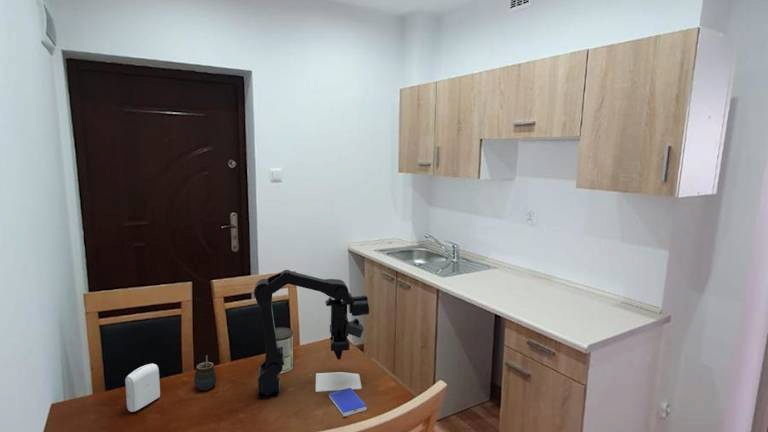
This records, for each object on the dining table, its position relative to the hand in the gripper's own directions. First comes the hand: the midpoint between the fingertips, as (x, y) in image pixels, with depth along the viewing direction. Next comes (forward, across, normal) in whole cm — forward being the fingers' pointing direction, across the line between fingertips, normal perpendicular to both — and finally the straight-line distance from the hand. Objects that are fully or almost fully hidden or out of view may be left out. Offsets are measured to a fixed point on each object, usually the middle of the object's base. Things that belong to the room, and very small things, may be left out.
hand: (339, 359), depth 148 cm
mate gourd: (+10, +5, +46) cm, 48 cm away
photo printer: (+10, -4, +63) cm, 64 cm away
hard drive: (+9, -6, 0) cm, 11 cm away
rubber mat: (+10, +3, 0) cm, 10 cm away
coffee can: (+10, +16, +22) cm, 29 cm away
